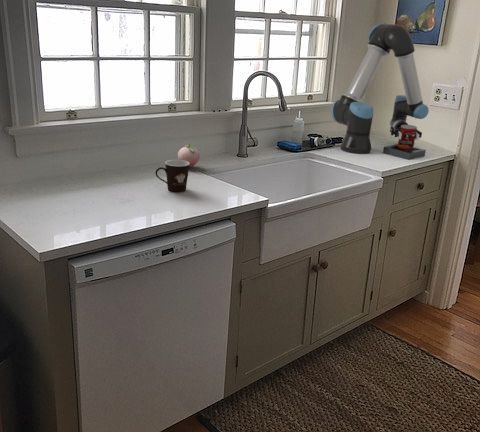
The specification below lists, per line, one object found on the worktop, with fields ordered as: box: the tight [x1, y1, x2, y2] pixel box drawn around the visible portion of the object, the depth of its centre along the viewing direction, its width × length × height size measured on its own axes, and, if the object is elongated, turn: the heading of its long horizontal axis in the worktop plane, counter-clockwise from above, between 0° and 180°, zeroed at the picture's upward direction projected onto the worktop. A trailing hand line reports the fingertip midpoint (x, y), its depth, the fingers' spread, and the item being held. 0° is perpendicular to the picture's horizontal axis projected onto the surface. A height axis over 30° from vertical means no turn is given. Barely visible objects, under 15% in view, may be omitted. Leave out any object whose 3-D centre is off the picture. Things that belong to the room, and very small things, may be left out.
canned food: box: [397, 124, 418, 150], centre depth 262 cm, size 8×8×11 cm
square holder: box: [382, 143, 427, 161], centre depth 265 cm, size 15×15×3 cm
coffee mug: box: [155, 159, 190, 194], centre depth 187 cm, size 12×9×10 cm
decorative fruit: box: [177, 143, 201, 169], centre depth 215 cm, size 9×8×10 cm
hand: (409, 137), depth 258 cm, fingers closed on canned food, 8 cm apart
